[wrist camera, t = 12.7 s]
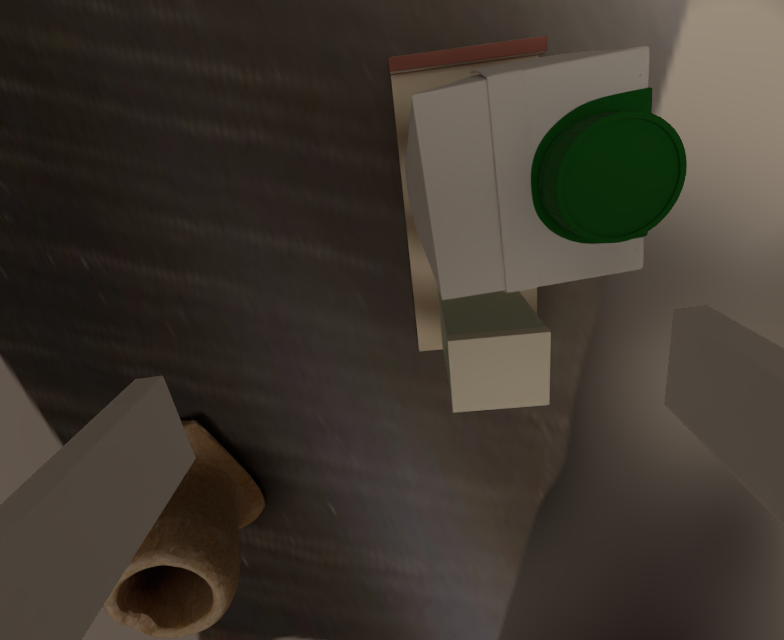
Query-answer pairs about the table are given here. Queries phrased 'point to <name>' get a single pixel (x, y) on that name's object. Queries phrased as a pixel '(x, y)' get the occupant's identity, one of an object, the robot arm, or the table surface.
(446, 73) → the shelf board
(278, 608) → the table surface
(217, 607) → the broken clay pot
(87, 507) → the robot arm
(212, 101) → the table surface
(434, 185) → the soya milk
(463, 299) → the tea tin
